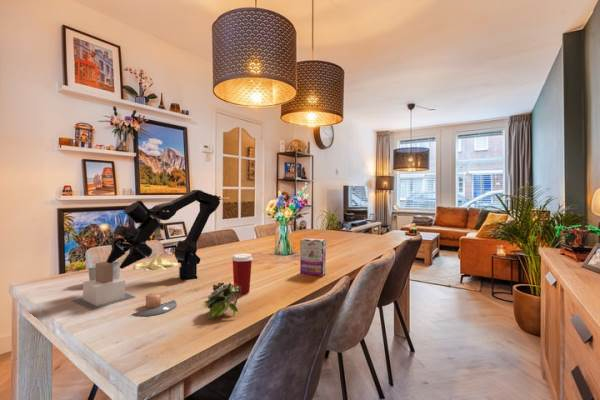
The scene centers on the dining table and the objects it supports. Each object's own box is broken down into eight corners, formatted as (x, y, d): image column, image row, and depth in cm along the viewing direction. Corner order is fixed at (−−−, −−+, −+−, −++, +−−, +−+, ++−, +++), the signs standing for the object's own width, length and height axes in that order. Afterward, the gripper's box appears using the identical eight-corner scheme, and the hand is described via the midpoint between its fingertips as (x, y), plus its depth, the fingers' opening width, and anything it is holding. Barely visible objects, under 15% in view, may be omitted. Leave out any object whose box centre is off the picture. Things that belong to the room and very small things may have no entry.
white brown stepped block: (111, 292, 109) (111, 259, 109) (124, 297, 104) (125, 263, 104) (83, 299, 101) (83, 264, 101) (96, 305, 96) (96, 268, 96)
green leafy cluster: (217, 326, 97) (227, 289, 104) (244, 327, 92) (253, 288, 99) (192, 316, 89) (205, 277, 96) (221, 317, 84) (232, 275, 91)
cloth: (126, 268, 147) (126, 255, 147) (161, 261, 163) (161, 249, 163) (153, 275, 135) (153, 262, 135) (188, 267, 151) (188, 255, 151)
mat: (115, 291, 112) (115, 289, 112) (136, 298, 105) (136, 297, 105) (70, 302, 100) (70, 300, 100) (91, 311, 93) (91, 309, 93)
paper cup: (255, 290, 116) (256, 254, 115) (245, 297, 109) (246, 258, 108) (237, 288, 118) (238, 252, 118) (226, 294, 111) (227, 256, 111)
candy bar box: (325, 274, 141) (326, 239, 141) (322, 276, 137) (323, 240, 136) (303, 271, 145) (304, 237, 145) (299, 273, 141) (300, 238, 140)
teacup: (104, 288, 115) (104, 267, 114) (80, 286, 117) (80, 265, 117) (132, 278, 128) (132, 259, 128) (110, 276, 130) (110, 258, 130)
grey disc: (173, 297, 107) (173, 286, 107) (179, 311, 95) (179, 298, 95) (128, 303, 100) (128, 292, 100) (128, 319, 88) (128, 306, 88)
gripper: (115, 215, 114) (82, 248, 105) (144, 218, 104) (110, 255, 95) (136, 234, 121) (106, 267, 112) (164, 239, 111) (134, 275, 102)
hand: (113, 266), depth 105 cm, fingers open, 9 cm apart
